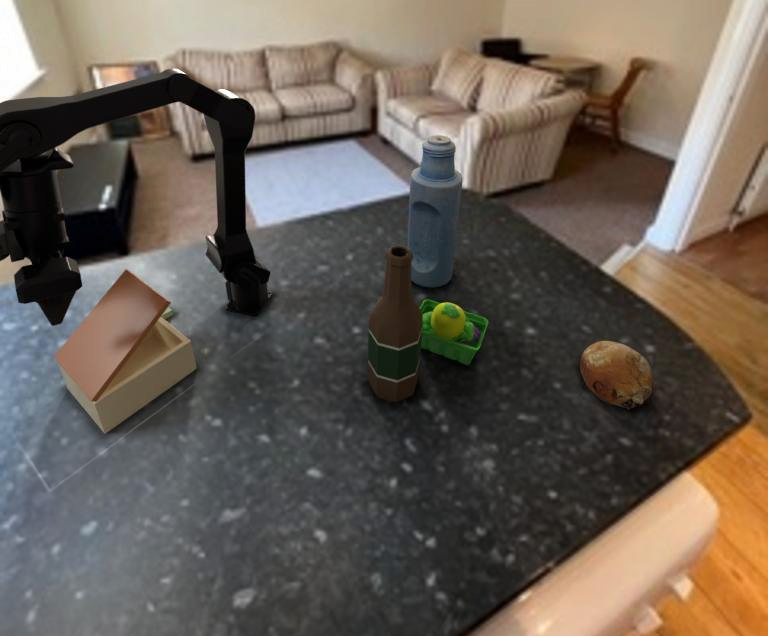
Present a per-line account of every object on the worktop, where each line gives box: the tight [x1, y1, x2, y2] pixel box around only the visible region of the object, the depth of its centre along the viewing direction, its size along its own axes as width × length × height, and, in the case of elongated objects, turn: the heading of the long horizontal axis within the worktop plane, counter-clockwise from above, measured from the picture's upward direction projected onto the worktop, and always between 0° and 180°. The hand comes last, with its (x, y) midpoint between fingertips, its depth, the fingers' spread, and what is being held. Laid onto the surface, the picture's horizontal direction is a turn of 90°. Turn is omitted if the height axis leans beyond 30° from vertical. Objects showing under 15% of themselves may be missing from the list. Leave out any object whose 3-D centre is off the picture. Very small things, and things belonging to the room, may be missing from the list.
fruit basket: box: [419, 299, 489, 366], centre depth 72 cm, size 11×9×11 cm
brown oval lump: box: [579, 340, 654, 410], centre depth 69 cm, size 10×10×8 cm
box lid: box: [53, 268, 172, 402], centre depth 63 cm, size 14×12×1 cm
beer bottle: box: [367, 244, 423, 403], centre depth 63 cm, size 8×8×24 cm
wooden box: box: [57, 317, 198, 435], centre depth 66 cm, size 14×12×6 cm
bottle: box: [406, 134, 464, 289], centre depth 86 cm, size 10×10×30 cm
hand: (52, 305), depth 62 cm, fingers open, 9 cm apart
